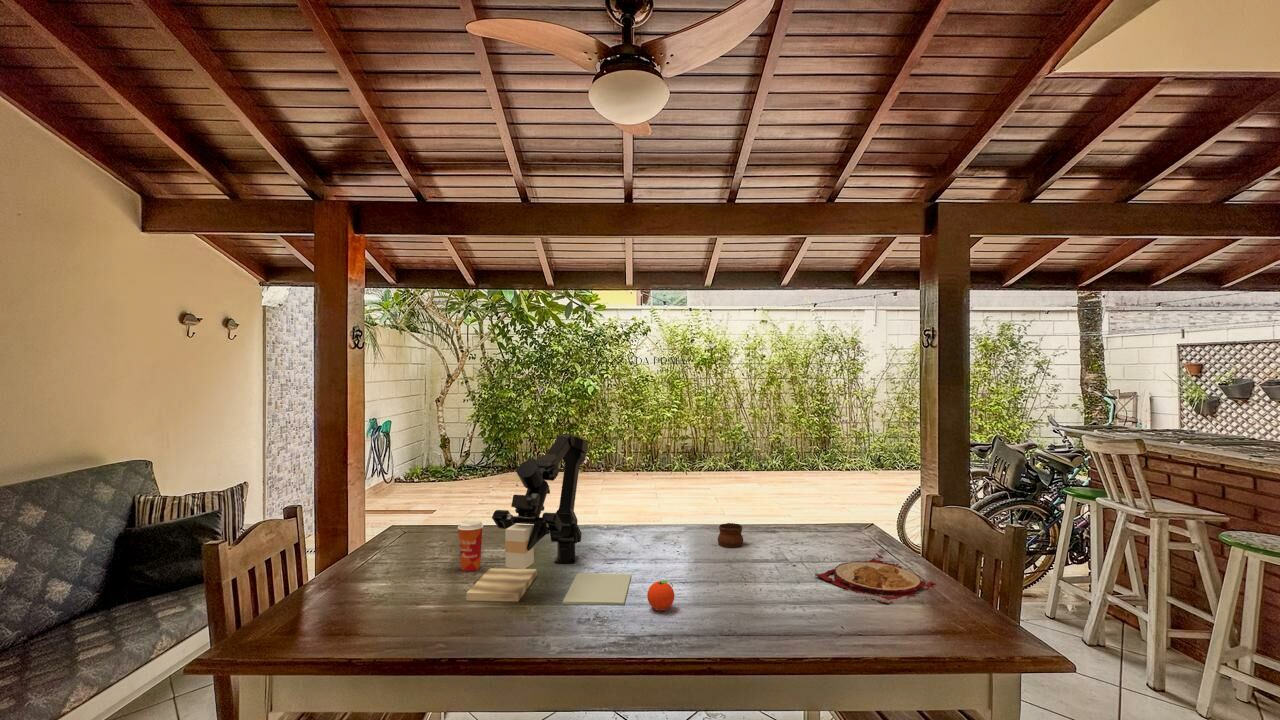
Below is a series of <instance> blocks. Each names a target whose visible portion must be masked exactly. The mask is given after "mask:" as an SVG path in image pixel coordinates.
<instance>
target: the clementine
mask: <svg viewBox="0 0 1280 720" xmlns="http://www.w3.org/2000/svg"><path fill="white" fill-rule="evenodd" d="M646 598H647V602H648V604H649V605H650V606H651V607H652V608H653V609H654V610H657V611H666V610H668V609H669V608H670V607H671V606H672V605H673V604H674V601H675V591H674V586H673V583H672V582H670V581H668V580H659V581H655V582H654V583H652V584H651V585H650V586H649V588H648V590H647V594H646Z"/></svg>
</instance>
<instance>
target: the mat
mask: <svg viewBox="0 0 1280 720" xmlns="http://www.w3.org/2000/svg"><path fill="white" fill-rule="evenodd" d="M631 579H632V574H631V573H630V574H629V573H585V572H584V573H576V576H574V579H573V581H572V582H571V585H570V586H569V589H568V590H567V593H566V594H565V596H564V598H563V600H562V605H597V606H598V605H601V606H602V605H603V606H604V605H605V606H606V605H607V606H608V605H610V606H612V605H613V606H625V603H626V600H627V599H626V598H627V594H628V590H629V587H630V582H631Z"/></svg>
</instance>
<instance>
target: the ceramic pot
mask: <svg viewBox="0 0 1280 720" xmlns="http://www.w3.org/2000/svg"><path fill="white" fill-rule="evenodd" d="M718 529H719V533H718V536H717V542H718V543H717V544H718V545H717V546H718V547H721V548H725V549H736V548H740V547H742V546H743V544H744V536H743V535H742V531H743V525H741V524H739V523H734V522H731V523H730V522H727V523H721V524H720V525H719V526H718Z"/></svg>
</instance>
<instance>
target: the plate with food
mask: <svg viewBox="0 0 1280 720" xmlns="http://www.w3.org/2000/svg"><path fill="white" fill-rule="evenodd" d="M874 554H875V555H876V556H877V558H880V559H882V560H883V559H884V556H882V555H880V554H878V553H874ZM880 559H879V560H878V559H877V560H876V559H875V557H873V558H872V559H870V560H868V561H853V562H851V561H850V562H844V563H841V564H838V565H836V566H835V568H832V569H829V570H827V571H826V572H824V573H820V574H819V573H814V575H815V577H818V578H820V579H821V578H822V579H823V580H825V581H827V582H830V583H831V584H833V585H834V586H835V585H836V586H837V587H841V589H842V588H843V589H845V591H850V590H851V591H854V593H856V594H864V595H866V594H868V595H870V596H875V597H880V598H882V599H884V601H883V600H880V598H878V599H877V601H878V602H879V603H882V604H889V605H891V604H893V601H890V600H898V599H899V598H900V599H901V598H904V597H906V598H907V599H910V598H912V597H915V596H919V595H920V594H919V593H917V594H916V593H915V592H917V591H918V590H920V591H923V590H921V588H923V589H924V590H925V591H928V590H929V591H928V592H931V590H930V588H936V586H937V585H938V584H937V583H935V582H932V581H929V582H928V583H927V582H926V581H925V580H922V579H921V578H920V577H919V575H917V574H916V573H914V572H912V571H910V570H908V569H906V568H903V567H902V566H901V565H899V563H896V564H895V563H888V562H887V561H886V562H884V561H882V560H880ZM832 574H833V577H834V579H833V578H832V577H830V575H832ZM939 589H940V588H938V590H939ZM863 597H864V598H867V596H863ZM870 600H871V601H872V600H874V598H870ZM885 600H886V601H885ZM887 601H889V602H887Z"/></svg>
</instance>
